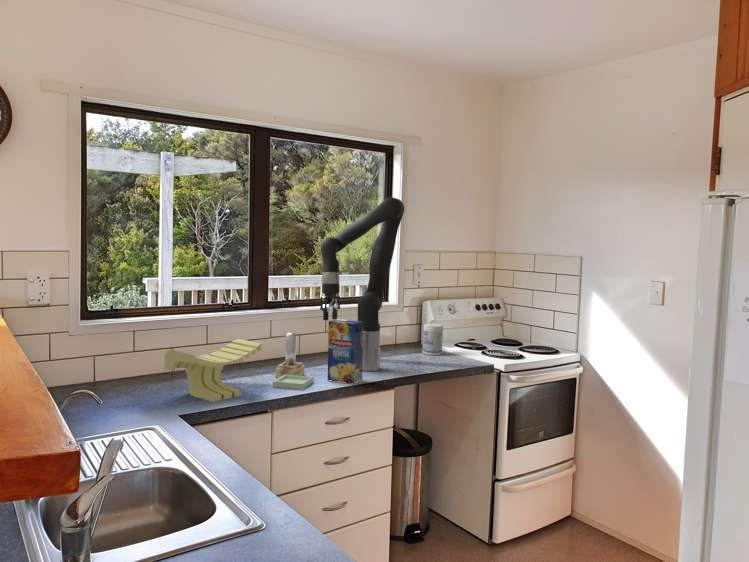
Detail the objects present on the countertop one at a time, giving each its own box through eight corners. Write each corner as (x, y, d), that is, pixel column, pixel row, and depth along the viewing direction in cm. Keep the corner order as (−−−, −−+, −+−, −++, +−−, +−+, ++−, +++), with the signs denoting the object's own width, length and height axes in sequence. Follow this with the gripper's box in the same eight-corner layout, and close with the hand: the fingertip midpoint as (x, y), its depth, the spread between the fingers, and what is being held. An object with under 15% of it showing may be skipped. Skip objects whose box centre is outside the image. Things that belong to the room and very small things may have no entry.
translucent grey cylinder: (296, 366, 253) (297, 332, 252) (293, 368, 249) (293, 334, 248) (287, 365, 254) (287, 331, 253) (283, 367, 250) (284, 333, 249)
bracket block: (304, 374, 255) (304, 362, 255) (296, 379, 246) (296, 367, 246) (283, 373, 257) (284, 361, 257) (275, 378, 248) (275, 365, 248)
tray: (313, 382, 243) (313, 376, 243) (302, 389, 231) (302, 384, 231) (284, 379, 246) (284, 374, 246) (272, 387, 234) (272, 381, 234)
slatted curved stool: (233, 383, 239) (233, 337, 237) (260, 390, 229) (261, 343, 228) (164, 398, 216) (164, 348, 214) (191, 407, 206) (191, 354, 204)
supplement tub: (419, 354, 303) (420, 325, 302) (426, 351, 312) (427, 322, 311) (437, 356, 299) (438, 326, 298) (444, 353, 307) (445, 324, 306)
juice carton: (362, 380, 248) (363, 321, 246) (354, 384, 241) (355, 323, 239) (336, 376, 253) (337, 319, 251) (327, 380, 246) (328, 321, 244)
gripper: (331, 282, 261) (330, 321, 261) (345, 282, 274) (345, 319, 274) (315, 282, 264) (314, 320, 264) (330, 282, 277) (330, 318, 277)
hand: (330, 319), depth 269 cm, fingers open, 8 cm apart
